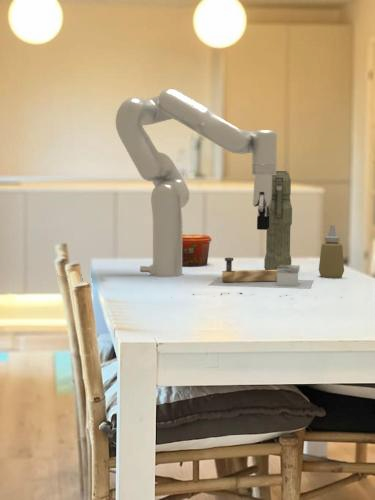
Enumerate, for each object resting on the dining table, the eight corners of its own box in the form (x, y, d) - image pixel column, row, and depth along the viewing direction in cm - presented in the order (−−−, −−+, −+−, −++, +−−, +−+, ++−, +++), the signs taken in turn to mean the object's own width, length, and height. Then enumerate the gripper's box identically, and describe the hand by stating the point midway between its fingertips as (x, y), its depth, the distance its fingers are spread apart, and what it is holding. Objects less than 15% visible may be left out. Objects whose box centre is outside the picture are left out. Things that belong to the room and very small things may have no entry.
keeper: (276, 285, 259) (277, 267, 258) (279, 282, 267) (279, 264, 266) (297, 286, 258) (297, 268, 257) (299, 282, 265) (299, 265, 265)
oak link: (224, 282, 263) (224, 258, 263) (220, 280, 267) (220, 257, 266) (296, 280, 269) (296, 257, 268) (291, 278, 273) (292, 256, 272)
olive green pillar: (266, 278, 287) (268, 171, 283) (262, 273, 298) (263, 170, 295) (293, 278, 287) (295, 171, 284) (288, 273, 299) (289, 171, 295)
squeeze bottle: (343, 283, 276) (344, 226, 274) (317, 282, 277) (318, 226, 276) (344, 280, 284) (345, 224, 282) (319, 279, 285) (320, 224, 283)
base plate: (207, 290, 259) (207, 285, 259) (218, 281, 278) (218, 277, 277) (309, 293, 253) (310, 288, 253) (313, 285, 272) (313, 280, 272)
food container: (171, 261, 333) (171, 233, 332) (213, 262, 331) (213, 234, 330) (164, 266, 317) (164, 237, 316) (208, 267, 315) (208, 238, 314)
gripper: (255, 169, 280) (254, 226, 282) (248, 170, 264) (247, 230, 266) (278, 170, 279) (277, 227, 281) (273, 170, 262) (272, 231, 264)
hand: (263, 228), depth 273 cm, fingers open, 4 cm apart
